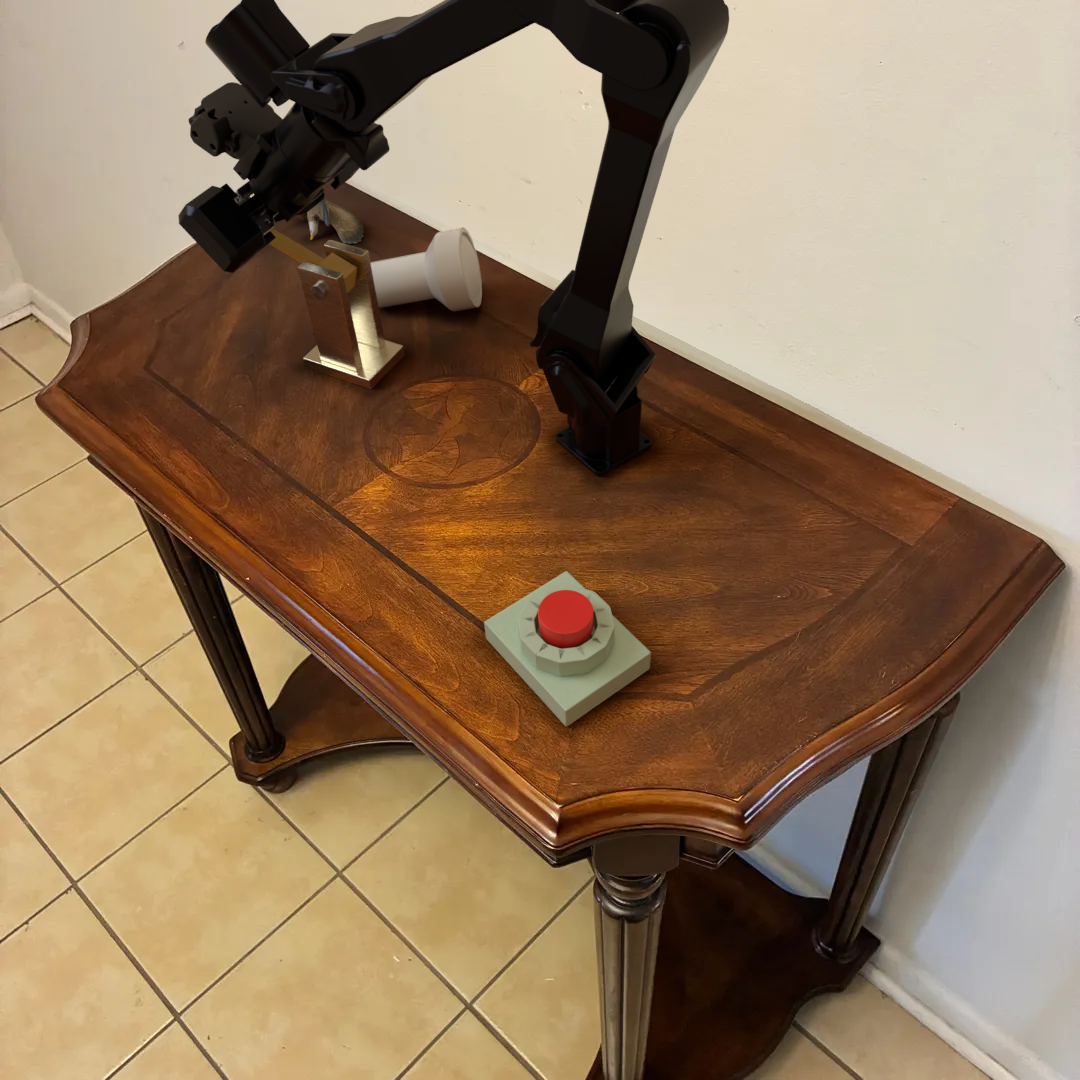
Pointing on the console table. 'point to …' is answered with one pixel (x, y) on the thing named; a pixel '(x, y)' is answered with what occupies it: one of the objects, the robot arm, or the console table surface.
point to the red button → (565, 618)
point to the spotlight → (432, 274)
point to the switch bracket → (347, 321)
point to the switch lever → (315, 258)
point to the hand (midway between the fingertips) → (240, 233)
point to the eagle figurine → (334, 221)
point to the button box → (568, 653)
